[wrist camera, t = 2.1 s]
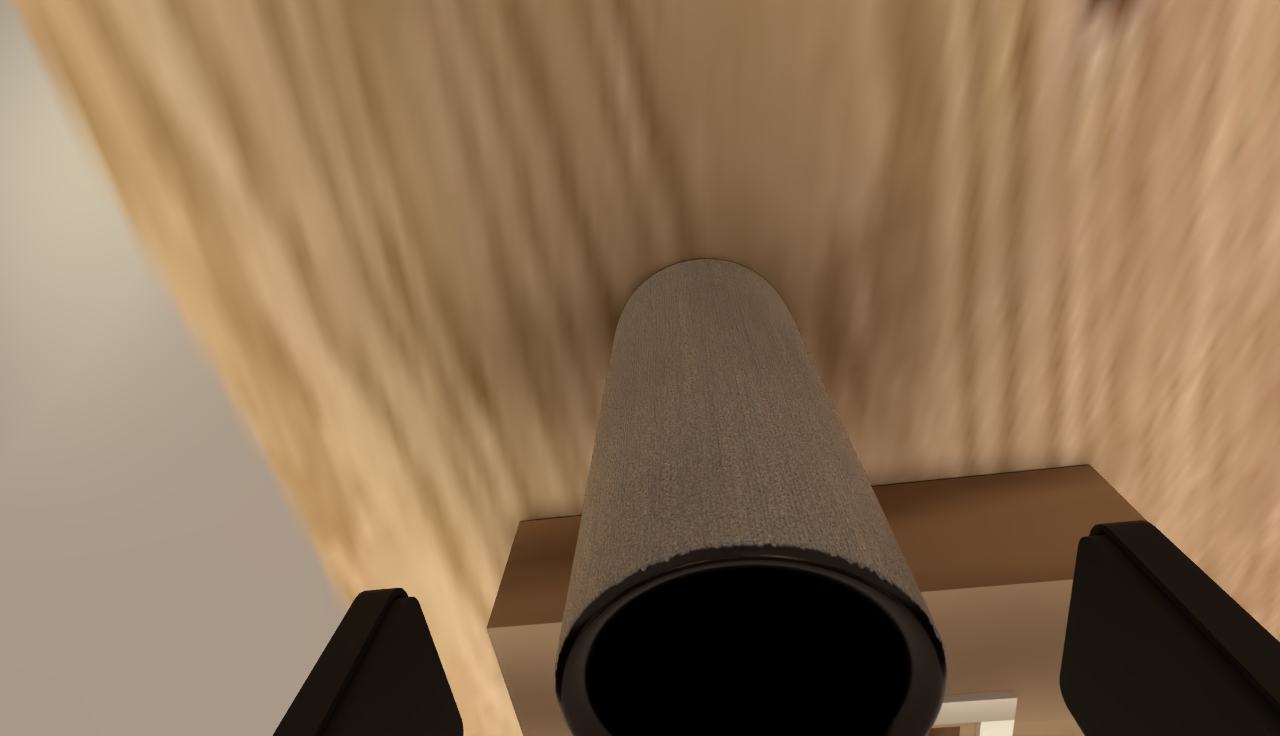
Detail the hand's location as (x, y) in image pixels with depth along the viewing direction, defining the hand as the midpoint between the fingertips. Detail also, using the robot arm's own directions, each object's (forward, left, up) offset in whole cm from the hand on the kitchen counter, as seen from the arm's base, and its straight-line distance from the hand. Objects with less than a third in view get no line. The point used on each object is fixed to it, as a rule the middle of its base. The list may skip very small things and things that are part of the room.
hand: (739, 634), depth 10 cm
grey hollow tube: (-1, 0, -9) cm, 9 cm away
